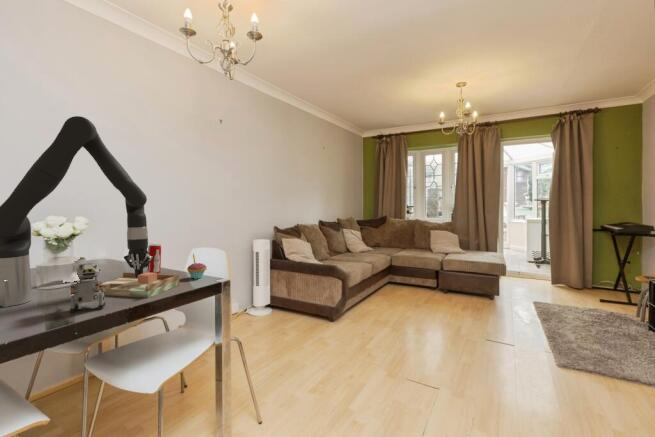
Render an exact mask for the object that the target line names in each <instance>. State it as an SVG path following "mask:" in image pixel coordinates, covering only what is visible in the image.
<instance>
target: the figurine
mask: <svg viewBox="0 0 655 437" xmlns="http://www.w3.org/2000/svg"><path fill="white" fill-rule="evenodd" d="M100 271H101V269H100V267H98V265H96V264H94V263H92V262H89V263H88V262H87V263H85V264H83V265H82V264H81V265H80V266H79V268H78V269H77V275H78V277H79V279H80V281H79V282H77V281H74V282H73V283H71V284H70V295H71V297H70V309H69V313H71V314H72V313H76V312H77V310H79V308H80V307H79V304H83V303H84V304H85V303H92V302H98V306H97V308H98V309H99V310H103V309H104V307H105V306H106V301H105V298H106V297H105V295H104V293H103V291H105V288H104V286H103V283H104V282H102V281H99V280H98V279H97V278H98V276H99V274H100ZM81 279H84V280H82V281H81ZM93 279H94V280H93ZM101 292H102V293H101Z"/></svg>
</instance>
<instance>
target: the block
mask: <svg viewBox="0 0 655 437" xmlns="http://www.w3.org/2000/svg"><path fill="white" fill-rule="evenodd" d="M155 281H157V273H150V272H143V274H140V275H138V283H141V284H149V283H152V282H155Z"/></svg>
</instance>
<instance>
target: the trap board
mask: <svg viewBox="0 0 655 437" xmlns="http://www.w3.org/2000/svg"><path fill="white" fill-rule="evenodd" d="M102 283H103V286H104V288H105V291H103V293H104V296H112V297H113V296H115V297H117V296H118V297H130V298H131V297H132V298H144V299H149V298H151V297H153V296H156V295H159V294H161V293H164V292H166V291H169V290H170V288H171V289H174V288H176V287H178V286H180V275H179V274H169V273H168V274H167V273H166V274H164V273H160V274H157V281H155V282H152V283H149V284H141V283H138V278H136V277H135V272H125V271H124V272H122V277H120V278H115V279H112V280H110V281H106V282H102ZM177 285H178V286H177ZM175 286H176V287H175ZM173 287H174V288H173ZM168 289H169V290H168ZM101 293H102V292H101Z"/></svg>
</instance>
